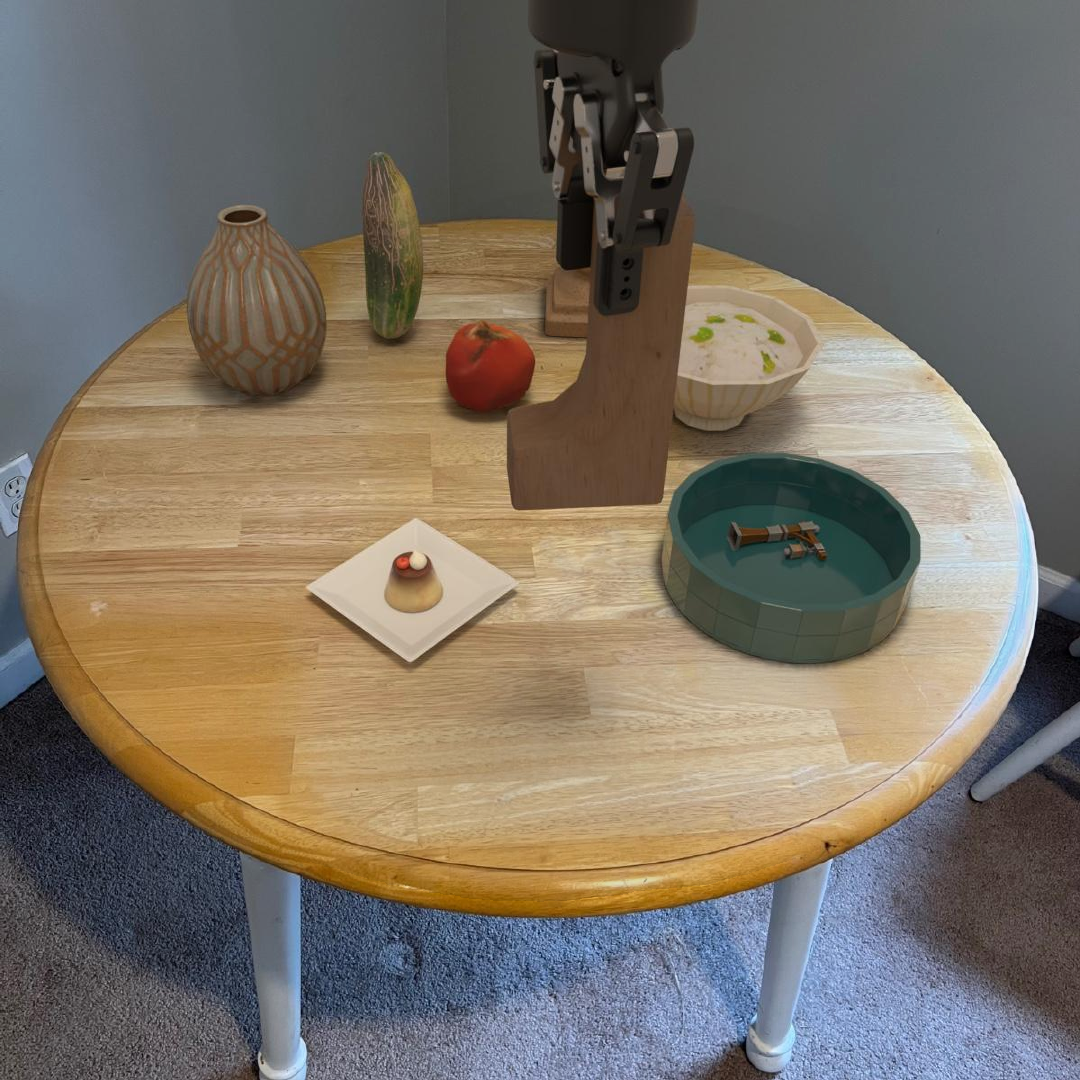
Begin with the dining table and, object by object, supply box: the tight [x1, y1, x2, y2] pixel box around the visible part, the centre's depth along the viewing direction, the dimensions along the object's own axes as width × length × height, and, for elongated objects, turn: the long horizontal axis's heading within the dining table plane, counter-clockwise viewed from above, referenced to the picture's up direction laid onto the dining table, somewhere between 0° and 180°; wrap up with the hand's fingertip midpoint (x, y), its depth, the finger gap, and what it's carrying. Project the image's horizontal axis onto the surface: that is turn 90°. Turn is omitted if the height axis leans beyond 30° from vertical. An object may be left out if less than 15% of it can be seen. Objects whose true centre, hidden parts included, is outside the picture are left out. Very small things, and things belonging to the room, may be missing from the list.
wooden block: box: [506, 192, 697, 511], centre depth 60 cm, size 9×4×18 cm, turn 96°
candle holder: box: [544, 167, 626, 338], centre depth 116 cm, size 11×11×24 cm
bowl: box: [673, 285, 825, 432], centre depth 105 cm, size 19×19×10 cm
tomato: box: [445, 319, 536, 413], centre depth 107 cm, size 9×9×8 cm
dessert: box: [305, 517, 520, 663], centre depth 86 cm, size 12×12×5 cm
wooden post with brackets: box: [727, 521, 827, 561], centre depth 92 cm, size 2×8×4 cm
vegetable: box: [361, 151, 424, 340], centre depth 112 cm, size 6×6×20 cm
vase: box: [186, 204, 328, 397], centre depth 105 cm, size 13×13×18 cm
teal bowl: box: [660, 452, 922, 664], centre depth 88 cm, size 20×20×6 cm
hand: (595, 286), depth 57 cm, fingers closed on wooden block, 4 cm apart
